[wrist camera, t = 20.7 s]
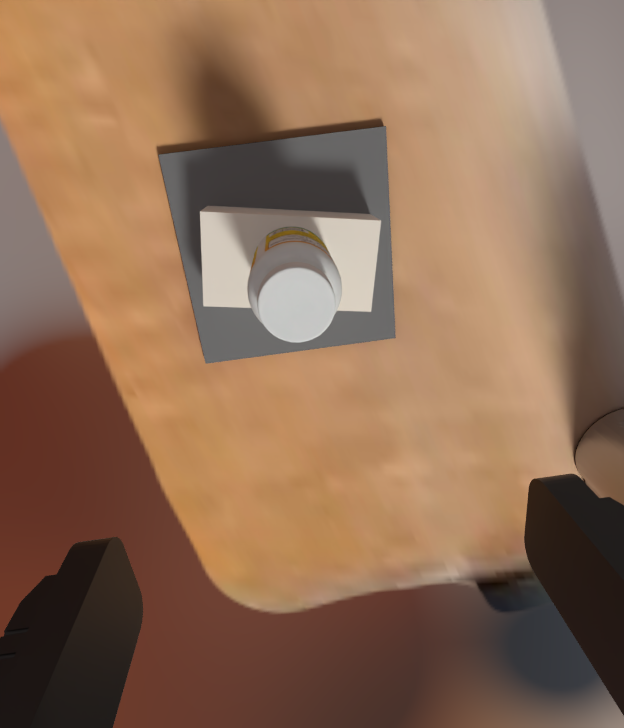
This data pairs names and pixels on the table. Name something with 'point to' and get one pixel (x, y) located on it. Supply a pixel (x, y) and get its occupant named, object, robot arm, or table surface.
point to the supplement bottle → (294, 284)
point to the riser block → (250, 225)
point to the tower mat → (289, 192)
